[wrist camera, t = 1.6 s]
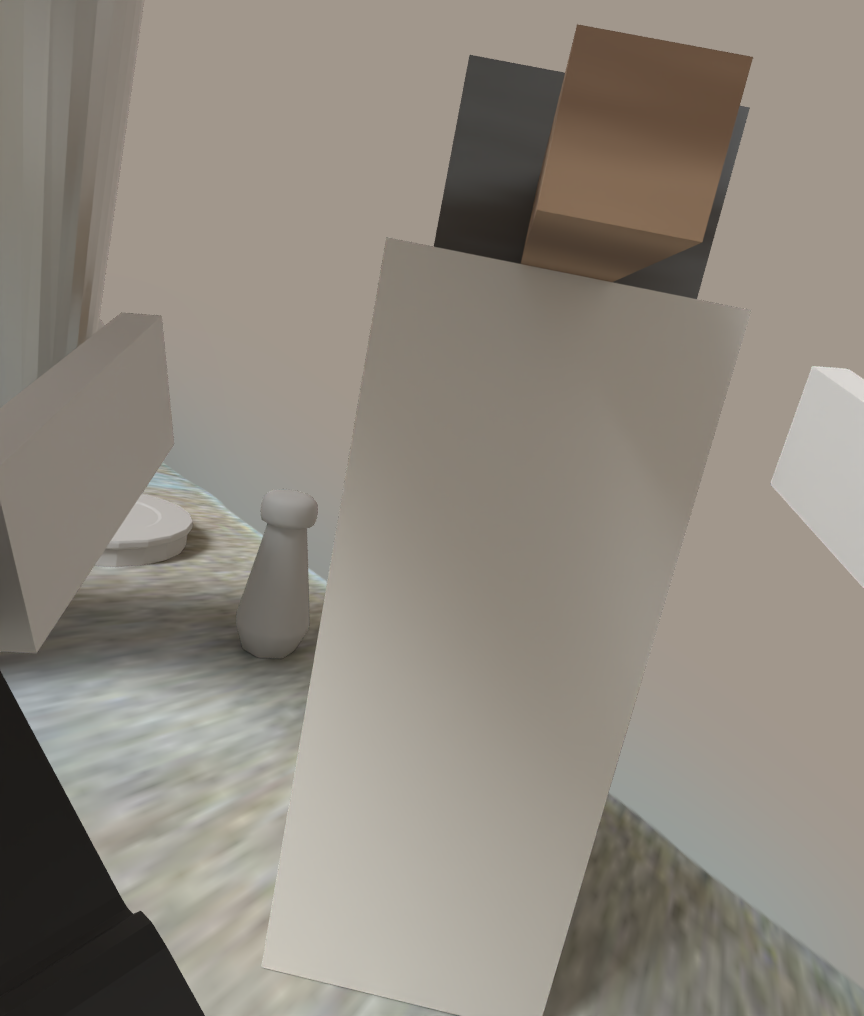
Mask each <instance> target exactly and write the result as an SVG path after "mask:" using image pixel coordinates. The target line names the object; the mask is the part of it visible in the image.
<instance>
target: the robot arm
mask: <svg viewBox="0 0 864 1016" xmlns="http://www.w3.org/2000/svg"><path fill="white" fill-rule="evenodd" d="M143 5H144V0H0V652H18V653H37V652H38V650H39V649H40V647H41V646H42V644H43V643H44V641H45V640H46V638H47V637H48V635H49V634H50V632H51V631H52V629H53V628H54V626H55V625H56V623H57V622H58V620H59V619H60V617H61V616H62V614H63V612H64V611H65V609H66V608H67V606H68V605H69V603H70V602H71V600H72V599H73V597H74V596H75V594H76V593H77V591H78V590H79V588H80V587H81V585H82V584H83V582H84V581H85V579H86V578H87V576H88V575H89V573H90V572H91V570H92V568H93V567H94V565H95V564H96V562H97V561H98V559H99V558H100V556H101V555H102V553H103V552H104V550H105V549H106V547H107V546H108V544H109V543H110V541H111V540H112V538H113V537H114V535H115V534H116V532H117V531H118V529H119V528H120V526H121V524H122V523H123V521H124V520H125V518H126V517H127V515H128V514H129V512H130V511H131V509H132V508H133V506H134V505H135V503H136V502H137V500H138V499H139V497H140V496H141V494H142V493H143V491H144V490H145V488H146V487H147V485H148V484H149V482H150V480H151V479H152V477H153V476H154V474H155V473H156V471H157V470H158V468H159V467H160V465H161V464H162V462H163V461H164V459H165V458H166V456H167V455H168V453H169V452H170V450H171V449H172V447H173V446H174V436H173V426H172V416H171V406H170V395H169V386H168V375H167V365H166V355H165V343H164V333H163V323H162V316H159V315H146V314H133V313H120V314H119V315H118V316H116V317H115V318H114V319H113V320H111V321H110V322H109V323H108V324H106V325H104V324H103V322H102V321H101V320H100V318H99V317H100V310H101V302H102V295H103V288H104V281H105V274H106V267H107V260H108V253H109V246H110V239H111V231H112V224H113V217H114V211H115V203H116V196H117V189H118V182H119V175H120V168H121V160H122V154H123V147H124V140H125V133H126V125H127V118H128V111H129V104H130V97H131V90H132V83H133V75H134V69H135V61H136V54H137V48H138V41H139V33H140V26H141V19H142V12H143ZM770 484H771V486H773V488H774V489H775V490H776V491H777V492H778V493H779V494H780V495H781V497H782V498H783V499H784V500H785V501H786V502H787V503H788V504H789V505H790V507H791V508H792V509H793V510H794V511H795V512H796V513H797V515H798V516H799V517H800V518H801V519H802V520H803V521H804V522H805V523H806V525H807V526H808V527H809V528H810V529H811V530H812V531H813V532H814V533H815V535H816V536H817V537H818V538H819V539H820V540H821V541H822V542H823V544H824V545H825V546H826V547H827V548H828V549H829V550H830V551H831V552H832V554H833V555H834V556H835V557H836V558H837V559H838V560H839V561H840V562H841V564H842V565H843V566H844V567H845V568H846V569H847V570H848V571H849V573H850V574H851V575H852V576H853V577H854V578H855V579H856V580H857V582H858V583H859V584H860V585H861V586H862V587H863V588H864V379H863V378H861V377H859V376H858V375H857V374H855V373H853V372H852V371H851V370H849V369H844V368H831V367H818V366H812V368H811V371H810V374H809V377H808V379H807V382H806V385H805V388H804V391H803V393H802V396H801V399H800V402H799V405H798V408H797V410H796V413H795V416H794V419H793V421H792V424H791V427H790V430H789V433H788V436H787V438H786V441H785V444H784V447H783V450H782V452H781V455H780V458H779V461H778V463H777V466H776V469H775V472H774V475H773V477H772V480H771V483H770ZM0 1016H205V1015H204V1013H203V1011H202V1010H201V1008H200V1006H199V1004H198V1002H197V1001H196V999H195V997H194V995H193V993H192V992H191V990H190V988H189V986H188V984H187V983H186V981H185V979H184V977H183V975H182V973H181V972H180V970H179V968H178V966H177V964H176V963H175V961H174V959H173V957H172V955H171V954H170V952H169V950H168V948H167V946H166V945H165V943H164V942H163V940H162V938H161V937H160V935H159V933H158V932H157V930H156V929H155V927H154V925H153V924H152V922H151V921H150V920H149V919H148V918H147V917H146V916H145V915H144V914H143V912H142V911H139V912H137V913H135V914H133V913H132V912H131V911H130V910H129V909H128V908H127V906H126V905H125V903H124V901H123V900H122V898H121V896H120V895H119V893H118V891H117V889H116V887H115V885H114V883H113V881H112V880H111V878H110V876H109V874H108V872H107V870H106V868H105V866H104V865H103V863H102V861H101V859H100V857H99V855H98V853H97V851H96V850H95V848H94V846H93V844H92V842H91V840H90V838H89V836H88V834H87V833H86V831H85V829H84V827H83V825H82V823H81V821H80V819H79V818H78V816H77V814H76V812H75V810H74V808H73V806H72V804H71V803H70V801H69V799H68V797H67V795H66V793H65V791H64V789H63V788H62V786H61V784H60V782H59V780H58V778H57V776H56V774H55V773H54V771H53V769H52V767H51V765H50V763H49V761H48V759H47V758H46V756H45V754H44V752H43V750H42V748H41V746H40V744H39V743H38V741H37V739H36V737H35V735H34V733H33V731H32V729H31V728H30V726H29V724H28V722H27V720H26V718H25V716H24V714H23V713H22V711H21V709H20V707H19V705H18V703H17V701H16V699H15V697H14V696H13V694H12V692H11V690H10V688H9V686H8V684H7V682H6V681H5V679H4V677H3V675H2V673H1V671H0Z"/></svg>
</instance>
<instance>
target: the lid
mask: <svg viewBox="0 0 864 1016" xmlns="http://www.w3.org/2000/svg"><path fill="white" fill-rule="evenodd" d="M192 527H193V522H192V519H191V515H190V514H189V513H188V512H187V511H186V510H184V509H183V508H182V507H181V506H179V505H176V504H174V503H172V502H169V501H167V500H165V499H161V498H158V497H154V496H150V495H146V494H143V493H142V494H141V496H140V497H139V499H138V500H137V502H136V503H135V505H134V506H133V508H132V509H131V511H130V512H129V514H128V515H127V517H126V518H125V520H124V521H123V523H122V524H121V526H120V528H119V529H118V531H117V532H116V534H115V535H114V537H113V538H112V540H111V541H110V543H109V544H108V546H107V547H106V549H105V550H104V552H103V553H102V555H101V556H100V558H99V559H98V561H97V562H96V564H95V565H94V566H101V567H124V566H138V565H146V564H151V563H155V562H160V561H165V560H167V559H169V558H172V557H174V556H176V555H178V554H180V553H181V551H182V550H183V549H184V548H185V546H186V541H187V534H188V533H189V532H190V530H191V529H192Z"/></svg>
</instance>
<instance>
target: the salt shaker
mask: <svg viewBox="0 0 864 1016" xmlns="http://www.w3.org/2000/svg"><path fill="white" fill-rule="evenodd" d="M260 512H261V518H262V520H263V521H265V522H266V523H267V526H266V529H265V532H264V535H263V538H262V542H261V544H260V547H259V550H258V553H257V556H256V559H255V561H254V564H253V567H252V570H251V573H250V576H249V578H248V581H247V584H246V587H245V590H244V593H243V595H242V598H241V601H240V604H239V607H238V610H237V612H236V627H237V630H238V634H239V637H240V641H241V644H242V648H243V649H244V650H246V651H248V652H249V653H251V654H253V655H254V656H256V657H258V658H273V659H282V658H284V657H285V656H287V655H289V654H290V653H292V652H294V651H295V649H296V648H297V646H298V645H299V643H300V642H301V640H302V639H303V637H304V636H305V634H306V633H307V631H308V629H309V626H310V617H309V583H308V550H307V528H310V527H312V526H313V525H314V524H315V522H316V519H317V514H318V505H317V503H316V501H315V500H314V498H313V497H311V496H310V495H308V494H306V493H303V492H299V491H296V490H289V489H278V490H271V491H270V492H268V493H266V494H265V495H264V497H263V499H262V502H261V510H260Z"/></svg>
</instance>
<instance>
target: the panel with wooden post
mask: <svg viewBox="0 0 864 1016" xmlns="http://www.w3.org/2000/svg"><path fill="white" fill-rule="evenodd" d="M752 59H753V57H750V56H744V55H739V54H734V53H728V52H723V51H717V50H712V49H707V48H702V47H696V46H691V45H685V44H680V43H675V42H669V41H664V40H658V39H653V38H648V37H642V36H637V35H631V34H626V33H621V32H615V31H610V30H604V29H599V28H593V27H588V26H583V25H577V28H576V31H575V36H574V39H573V43H572V47H571V52H570V56H569V60H568V64H567V68H566V72H565V73H563V72H558V71H553V70H547V69H542V68H537V67H532V66H526V65H521V64H515V63H510V62H505V61H499V60H494V59H489V58H484V57H478V56H473V55H470V56H469V61H468V67H467V72H466V77H465V82H464V88H463V94H462V98H461V104H460V109H459V115H458V120H457V125H456V131H455V136H454V141H453V147H452V152H451V157H450V163H449V168H448V174H447V179H446V184H445V189H444V195H443V200H442V205H441V211H440V216H439V222H438V227H437V232H436V238H435V243H434V247H438V248H443V249H448V250H453V251H458V252H463V253H468V254H473V255H478V256H483V257H488V258H493V259H498V260H503V261H508V262H513V263H518V264H523V265H528V266H533V267H538V268H543V269H548V270H553V271H558V272H563V273H568V274H573V275H578V276H583V277H588V278H593V279H598V280H603V281H608V282H613V283H618V284H623V285H628V286H633V287H638V288H643V289H648V290H653V291H658V292H663V293H668V294H673V295H678V296H683V297H688V298H693V299H697V296H698V293H699V289H700V286H701V282H702V278H703V275H704V271H705V267H706V264H707V260H708V257H709V253H710V249H711V246H712V242H713V238H714V235H715V231H716V228H717V224H718V221H719V217H720V213H721V210H722V206H723V202H724V199H725V195H726V192H727V188H728V184H729V181H730V177H731V173H732V170H733V165H734V163H735V159H736V155H737V152H738V148H739V145H740V141H741V137H742V134H743V130H744V127H745V123H746V119H747V116H748V112H749V109H750V108H749V107H744V106H740V102H741V99H742V95H743V92H744V88H745V84H746V81H747V77H748V73H749V70H750V66H751V62H752Z"/></svg>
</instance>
